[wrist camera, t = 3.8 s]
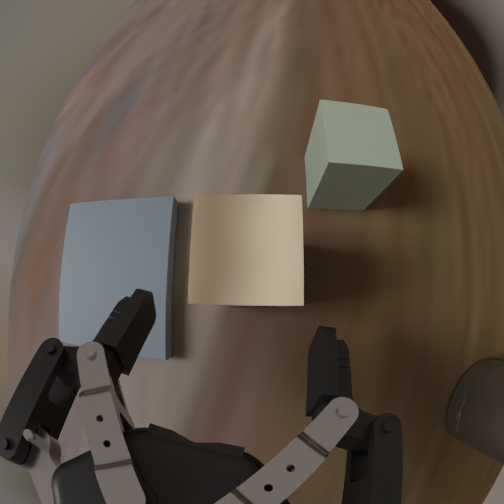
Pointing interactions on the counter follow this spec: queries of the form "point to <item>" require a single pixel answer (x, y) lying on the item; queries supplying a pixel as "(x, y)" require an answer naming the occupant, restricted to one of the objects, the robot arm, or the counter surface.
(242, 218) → the birch block
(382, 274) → the counter surface
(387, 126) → the sage block
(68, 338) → the slate board
